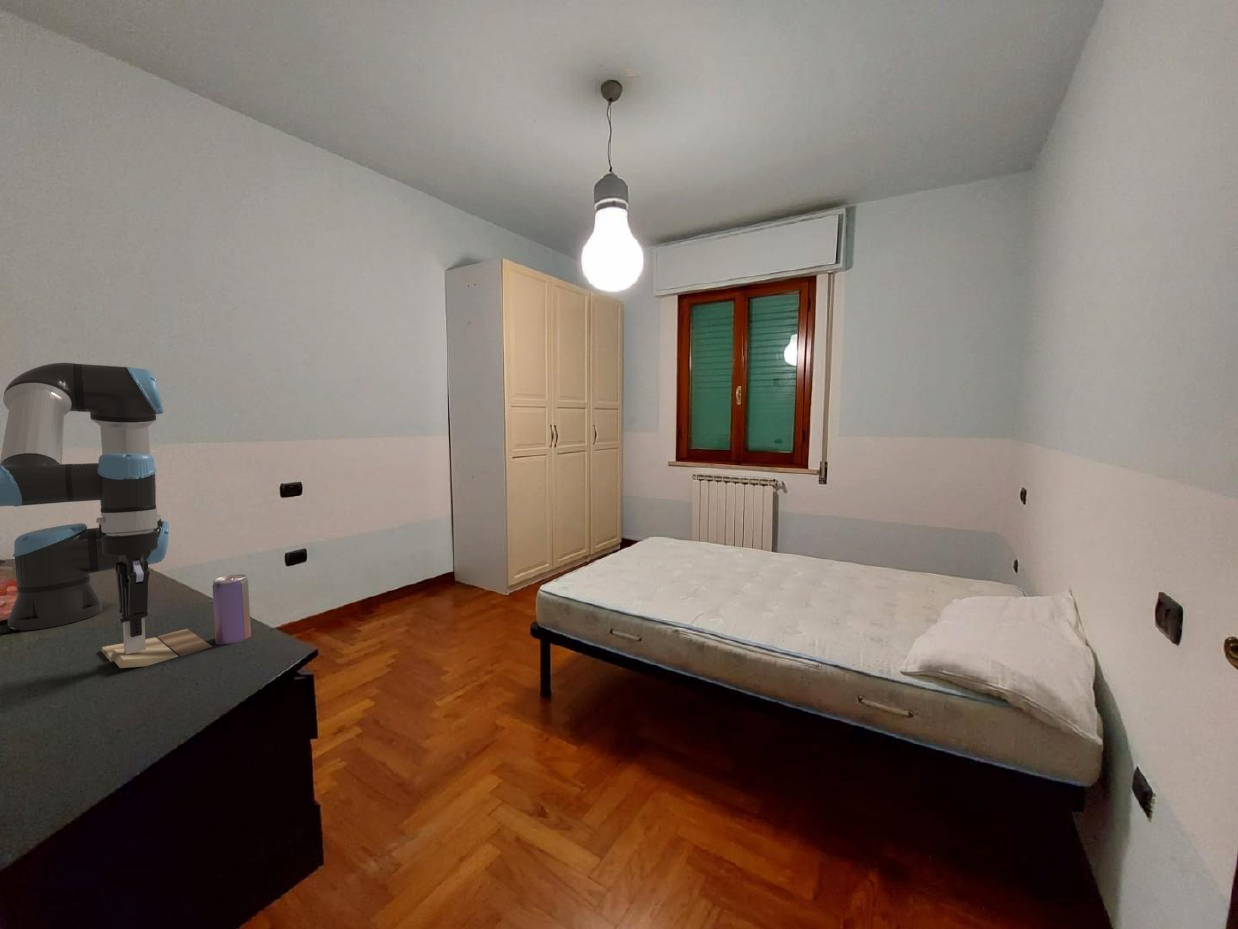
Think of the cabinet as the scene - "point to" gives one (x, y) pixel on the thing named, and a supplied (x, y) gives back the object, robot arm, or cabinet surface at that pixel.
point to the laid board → (184, 642)
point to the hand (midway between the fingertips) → (135, 651)
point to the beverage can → (231, 609)
